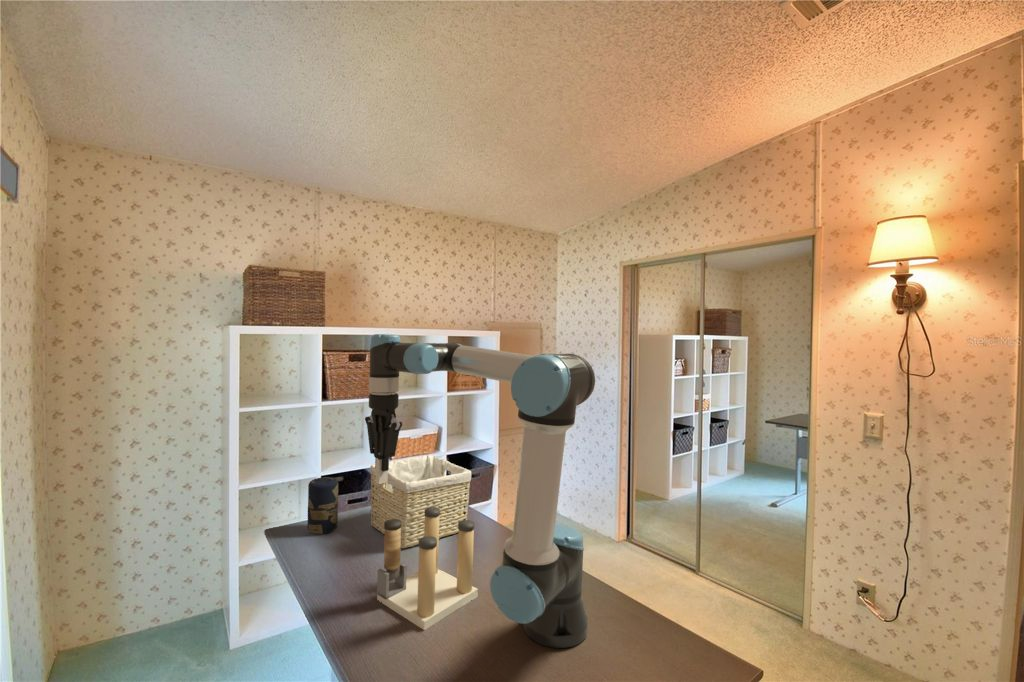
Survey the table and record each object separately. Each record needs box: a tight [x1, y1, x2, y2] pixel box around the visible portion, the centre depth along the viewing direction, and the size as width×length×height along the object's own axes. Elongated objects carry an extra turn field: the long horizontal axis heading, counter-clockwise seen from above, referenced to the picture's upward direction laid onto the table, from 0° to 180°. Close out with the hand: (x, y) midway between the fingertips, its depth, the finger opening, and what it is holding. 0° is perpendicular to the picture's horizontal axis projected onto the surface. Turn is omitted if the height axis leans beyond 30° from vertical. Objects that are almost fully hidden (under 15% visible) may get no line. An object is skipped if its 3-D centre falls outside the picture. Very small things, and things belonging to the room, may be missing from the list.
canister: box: [307, 476, 339, 535], centre depth 155 cm, size 10×10×18 cm
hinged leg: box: [383, 519, 402, 582], centre depth 116 cm, size 14×4×4 cm
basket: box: [369, 454, 472, 549], centre depth 159 cm, size 27×27×22 cm
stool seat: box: [376, 507, 479, 631], centre depth 117 cm, size 18×19×19 cm
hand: (381, 482), depth 120 cm, fingers closed
